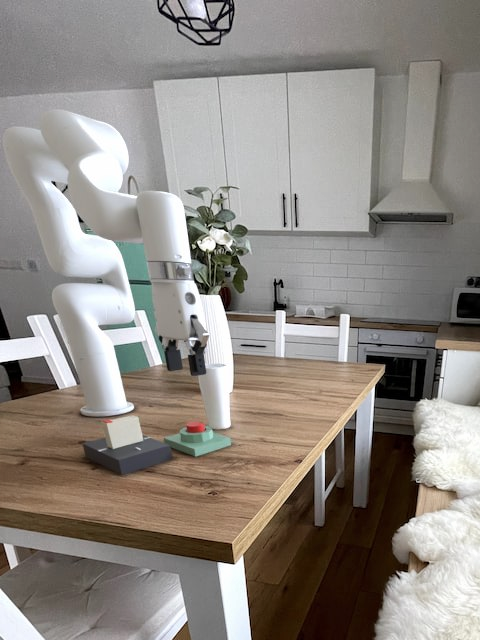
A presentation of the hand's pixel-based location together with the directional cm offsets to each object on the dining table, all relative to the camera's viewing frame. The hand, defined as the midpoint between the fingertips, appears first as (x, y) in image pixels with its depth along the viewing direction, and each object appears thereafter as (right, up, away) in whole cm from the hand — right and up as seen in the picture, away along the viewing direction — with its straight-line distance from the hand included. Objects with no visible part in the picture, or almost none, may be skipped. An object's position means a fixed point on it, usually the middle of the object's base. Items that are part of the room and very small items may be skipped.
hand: (186, 371), depth 80 cm
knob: (-11, -15, -2) cm, 19 cm away
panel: (-11, -18, -1) cm, 21 cm away
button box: (0, -14, +7) cm, 16 cm away
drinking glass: (0, -9, +19) cm, 21 cm away
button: (0, -12, +5) cm, 13 cm away
